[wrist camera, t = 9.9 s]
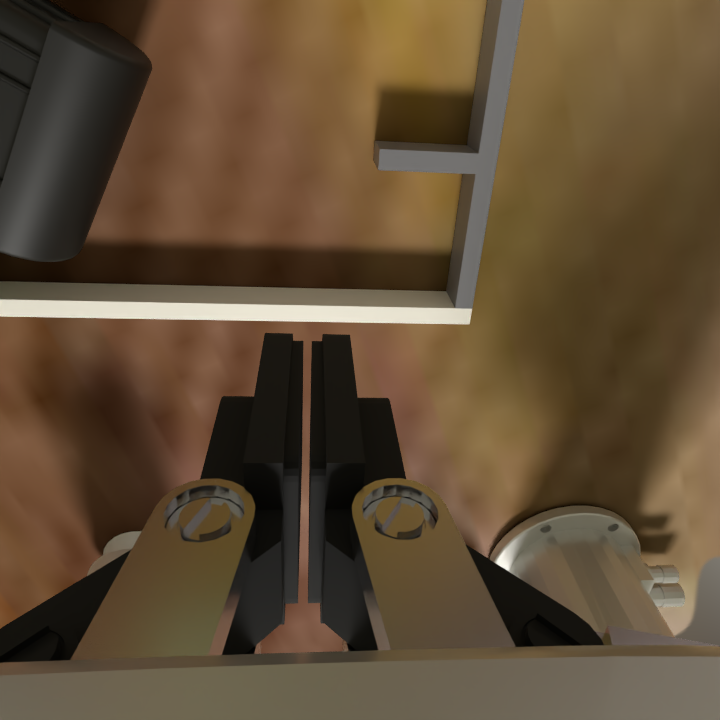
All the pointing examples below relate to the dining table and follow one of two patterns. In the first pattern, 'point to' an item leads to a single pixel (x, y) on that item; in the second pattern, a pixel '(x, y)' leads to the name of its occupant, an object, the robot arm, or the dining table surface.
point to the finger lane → (335, 303)
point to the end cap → (59, 124)
